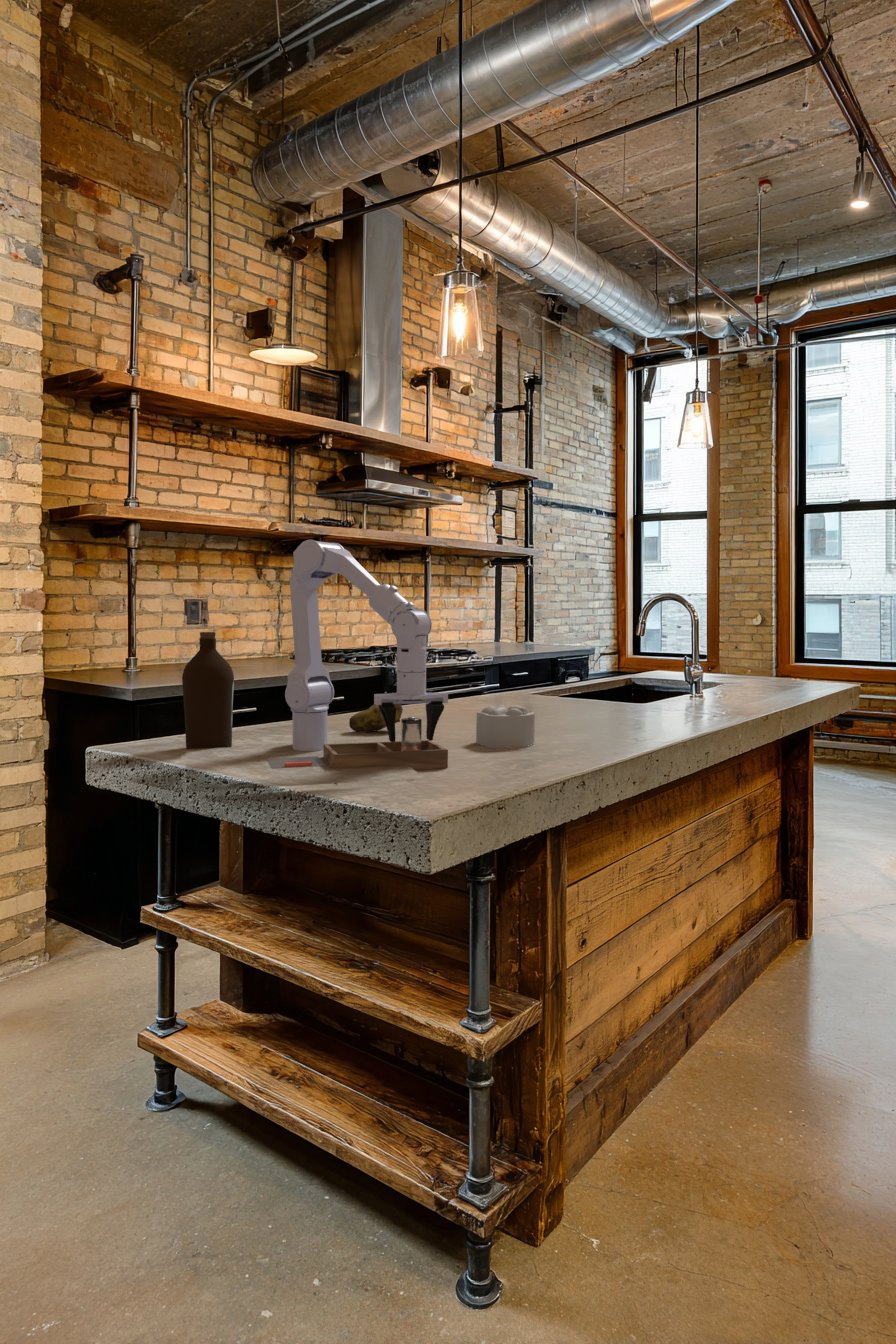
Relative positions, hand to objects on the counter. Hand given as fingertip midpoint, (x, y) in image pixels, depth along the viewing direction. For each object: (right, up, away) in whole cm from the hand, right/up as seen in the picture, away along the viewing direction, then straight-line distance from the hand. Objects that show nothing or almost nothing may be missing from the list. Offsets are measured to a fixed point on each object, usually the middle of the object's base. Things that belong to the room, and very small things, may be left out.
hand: (411, 740), depth 164 cm
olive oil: (-44, -3, +15) cm, 46 cm away
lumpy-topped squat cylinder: (+21, -3, +25) cm, 33 cm away
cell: (0, -3, 0) cm, 3 cm away
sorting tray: (-5, -5, -1) cm, 7 cm away
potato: (-10, -1, +41) cm, 42 cm away
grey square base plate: (-22, -5, -5) cm, 23 cm away
